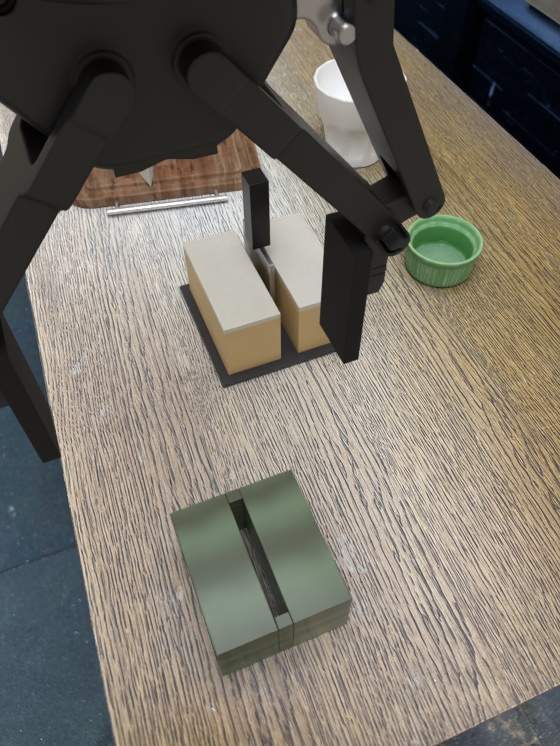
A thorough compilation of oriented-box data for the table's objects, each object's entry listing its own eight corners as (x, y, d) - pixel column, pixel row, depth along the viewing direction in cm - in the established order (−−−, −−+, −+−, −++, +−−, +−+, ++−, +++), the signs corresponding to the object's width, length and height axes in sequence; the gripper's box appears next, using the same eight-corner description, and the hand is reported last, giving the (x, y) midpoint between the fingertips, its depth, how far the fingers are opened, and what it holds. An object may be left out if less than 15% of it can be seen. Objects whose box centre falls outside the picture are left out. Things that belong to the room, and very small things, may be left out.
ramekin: (418, 298, 76) (424, 270, 73) (390, 249, 82) (394, 221, 78) (487, 283, 78) (497, 255, 74) (455, 236, 83) (463, 208, 80)
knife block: (346, 623, 53) (352, 598, 49) (222, 677, 51) (216, 656, 46) (290, 501, 60) (291, 469, 56) (179, 542, 58) (169, 513, 53)
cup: (392, 127, 98) (403, 54, 90) (399, 177, 91) (411, 102, 82) (310, 127, 99) (313, 54, 90) (310, 176, 91) (313, 101, 82)
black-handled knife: (281, 321, 74) (280, 197, 60) (265, 326, 73) (260, 202, 60) (256, 276, 78) (250, 151, 65) (240, 280, 78) (231, 156, 64)
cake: (359, 344, 72) (366, 295, 66) (223, 388, 68) (217, 341, 62) (302, 254, 81) (303, 204, 75) (179, 289, 78) (170, 239, 72)
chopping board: (268, 198, 88) (267, 179, 86) (67, 223, 85) (61, 204, 83) (223, 41, 115) (222, 23, 113) (69, 56, 112) (64, 37, 110)
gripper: (-963, -166, 7) (-91, 563, 24) (745, -309, 13) (486, 362, 30) (-659, -272, 12) (-100, 409, 28) (522, -345, 17) (406, 259, 34)
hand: (200, 386), depth 29 cm, fingers open, 13 cm apart
